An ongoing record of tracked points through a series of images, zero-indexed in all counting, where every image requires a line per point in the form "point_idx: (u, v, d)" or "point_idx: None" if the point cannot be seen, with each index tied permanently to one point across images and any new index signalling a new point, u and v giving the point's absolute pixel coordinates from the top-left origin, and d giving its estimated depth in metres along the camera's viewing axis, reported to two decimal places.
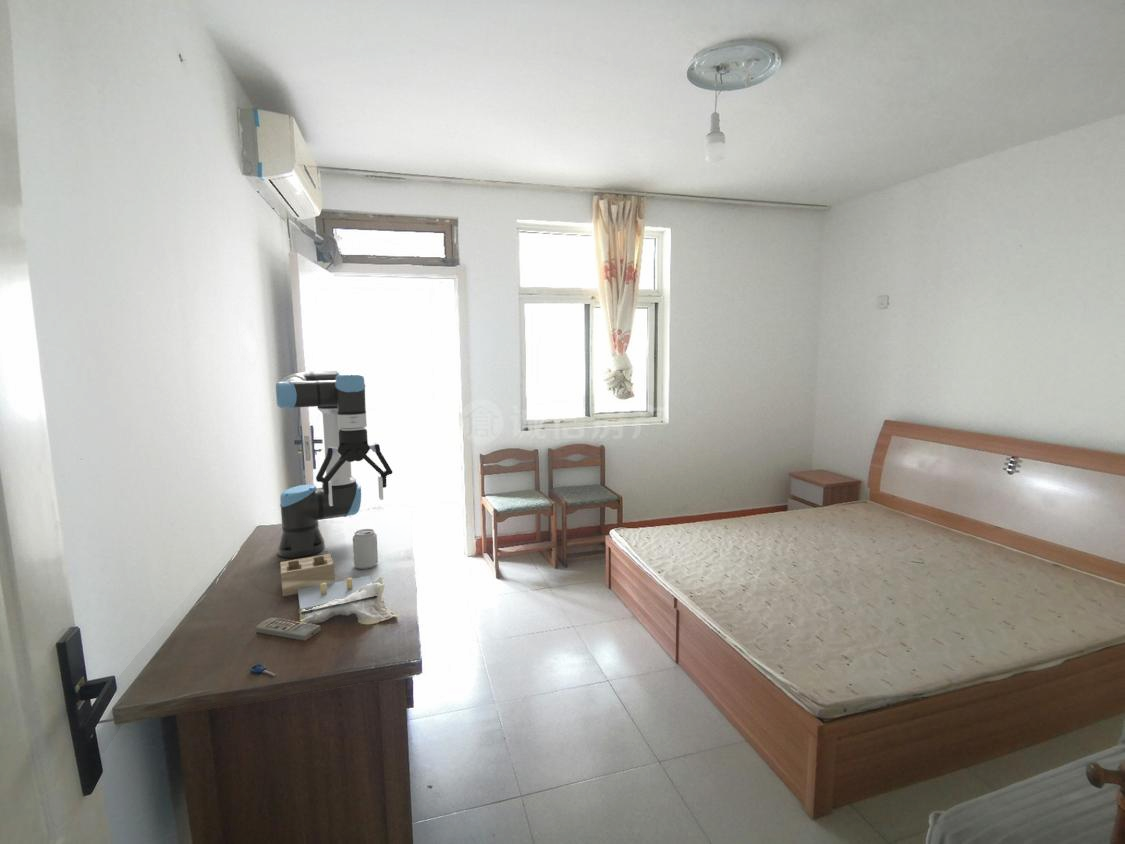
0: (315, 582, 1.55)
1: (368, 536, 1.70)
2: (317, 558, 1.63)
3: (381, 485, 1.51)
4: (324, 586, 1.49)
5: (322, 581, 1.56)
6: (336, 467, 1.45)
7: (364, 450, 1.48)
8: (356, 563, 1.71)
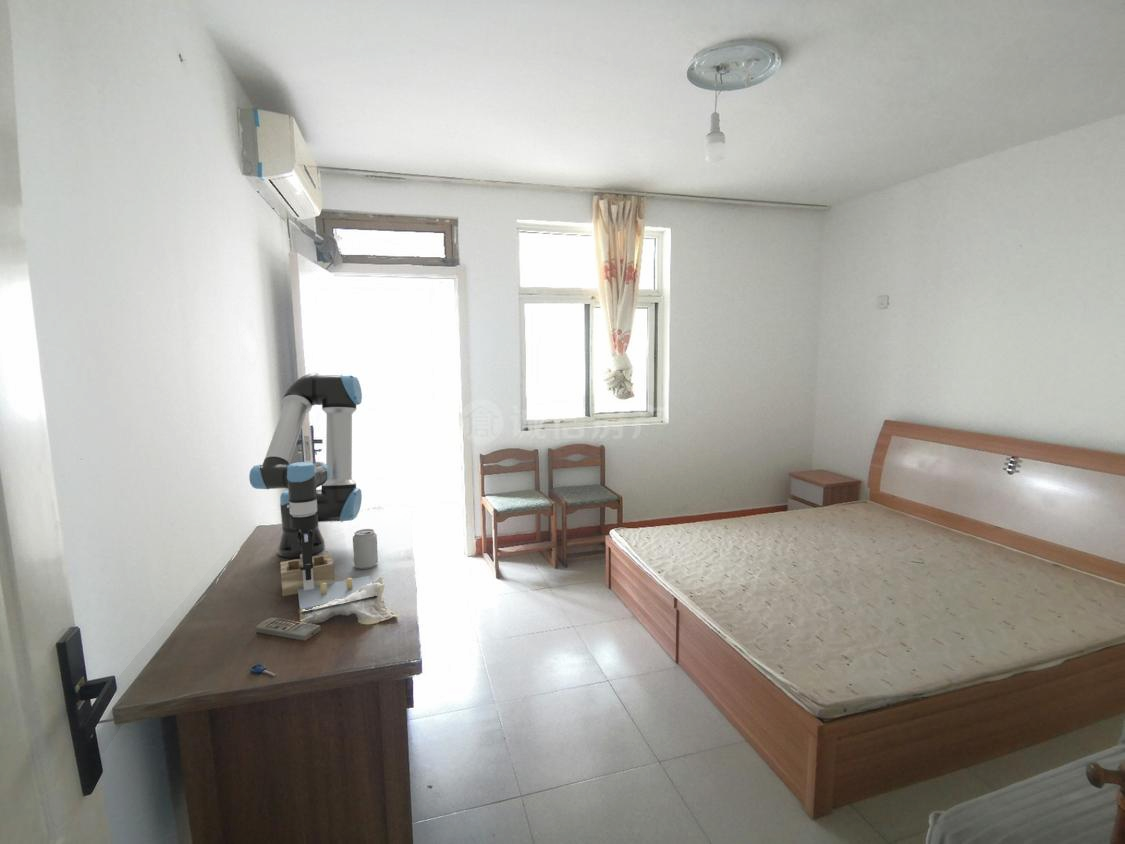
0: (315, 582, 1.55)
1: (368, 536, 1.70)
2: (317, 558, 1.63)
3: (303, 576, 1.52)
4: (324, 586, 1.49)
5: (322, 581, 1.56)
6: None
7: (301, 537, 1.54)
8: (356, 563, 1.71)
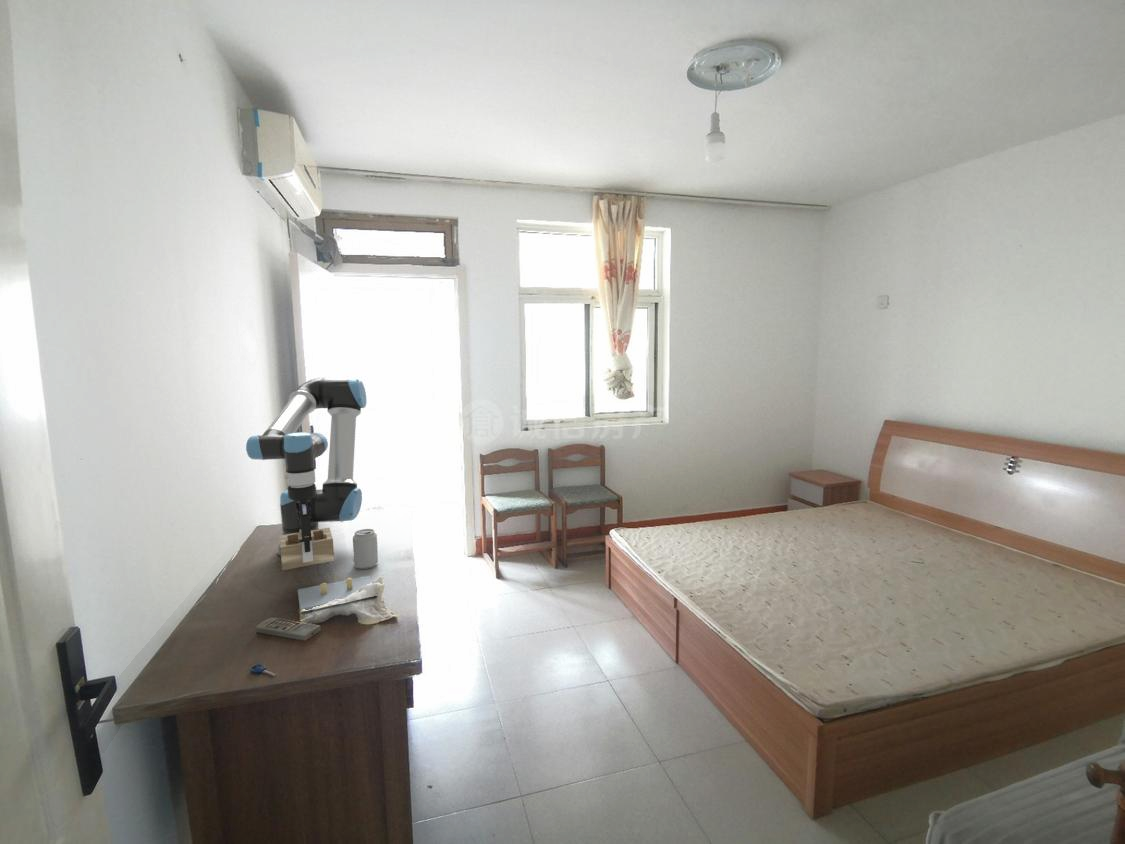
0: (315, 556, 1.55)
1: (368, 536, 1.70)
2: (316, 532, 1.63)
3: (302, 548, 1.53)
4: (324, 586, 1.49)
5: (322, 555, 1.56)
6: None
7: (299, 507, 1.54)
8: (356, 563, 1.71)
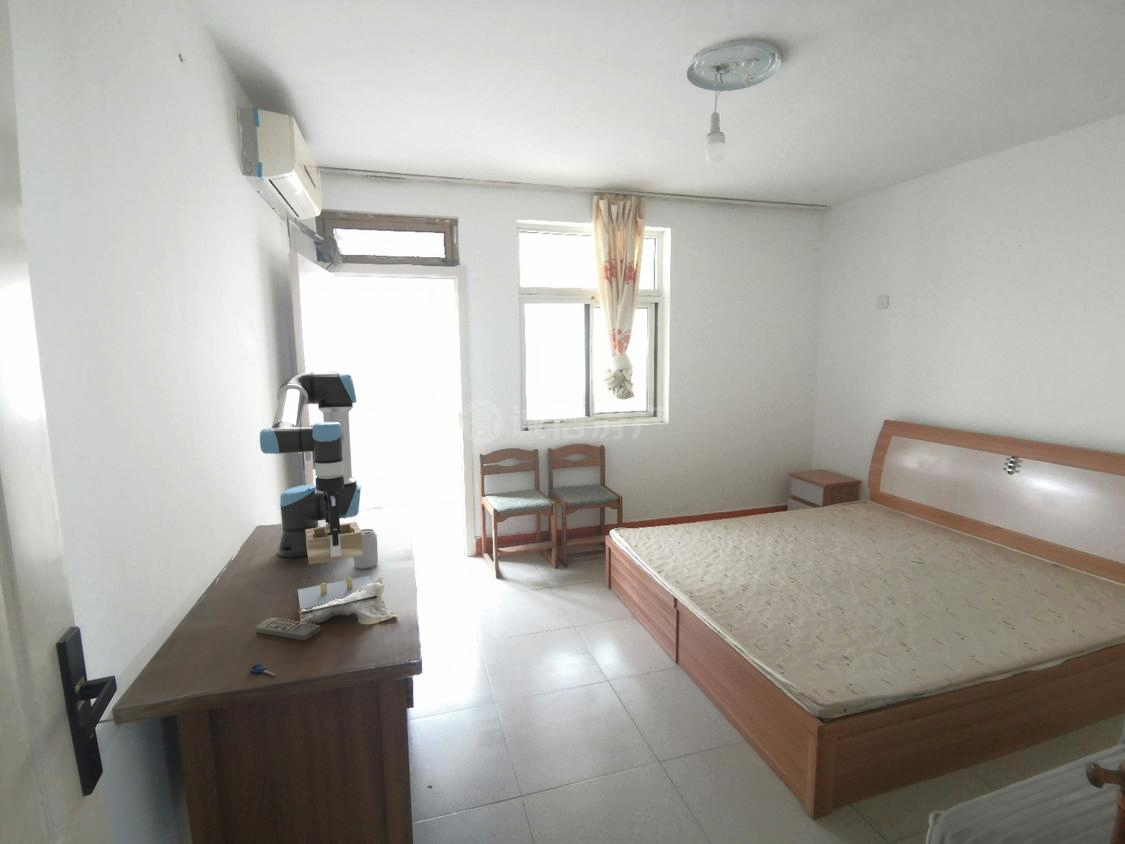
0: (342, 551, 1.49)
1: (368, 536, 1.70)
2: (343, 526, 1.56)
3: (330, 542, 1.46)
4: (324, 586, 1.49)
5: (350, 549, 1.50)
6: None
7: (327, 499, 1.48)
8: (356, 563, 1.71)
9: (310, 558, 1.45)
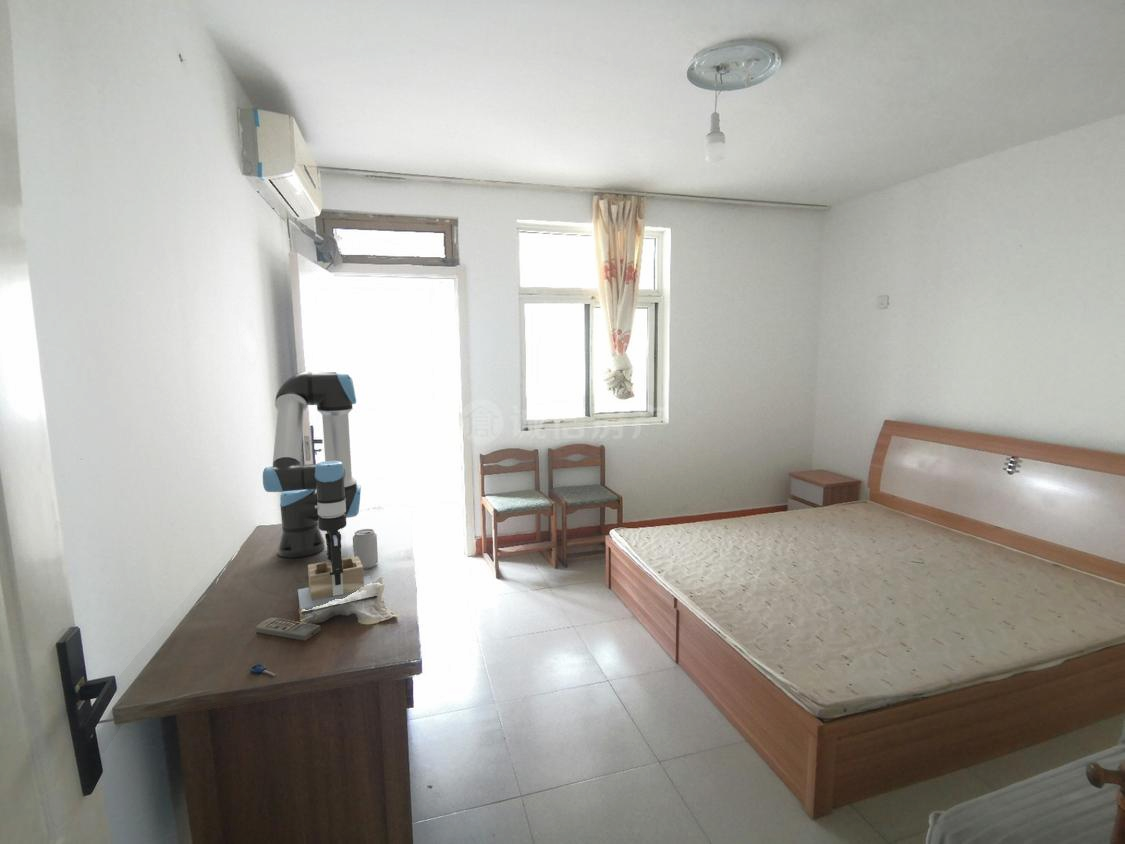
0: (344, 586, 1.50)
1: (368, 536, 1.70)
2: (345, 561, 1.58)
3: (332, 581, 1.48)
4: None
5: (352, 584, 1.51)
6: None
7: (329, 538, 1.49)
8: None
9: (312, 594, 1.46)
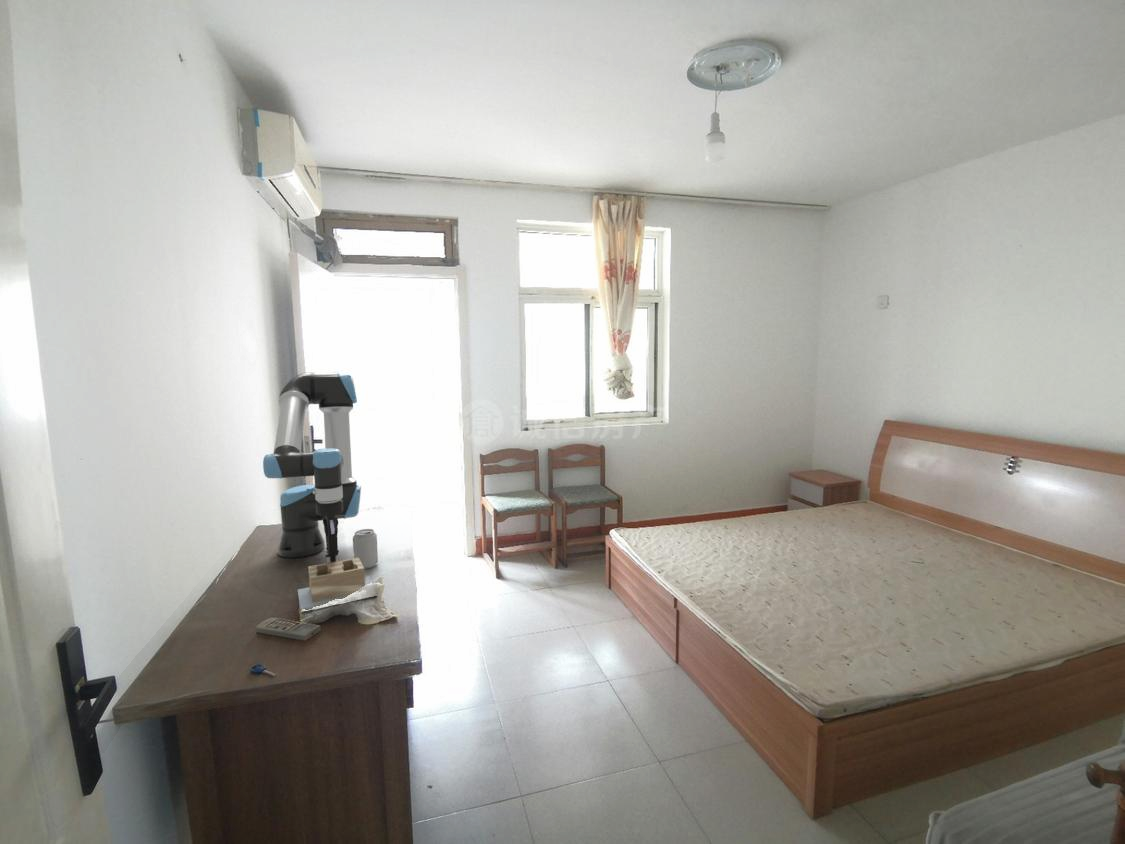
0: (346, 587, 1.49)
1: (368, 536, 1.70)
2: (346, 562, 1.57)
3: None
4: None
5: (353, 586, 1.50)
6: (326, 537, 1.58)
7: (327, 522, 1.54)
8: None
9: (313, 596, 1.45)
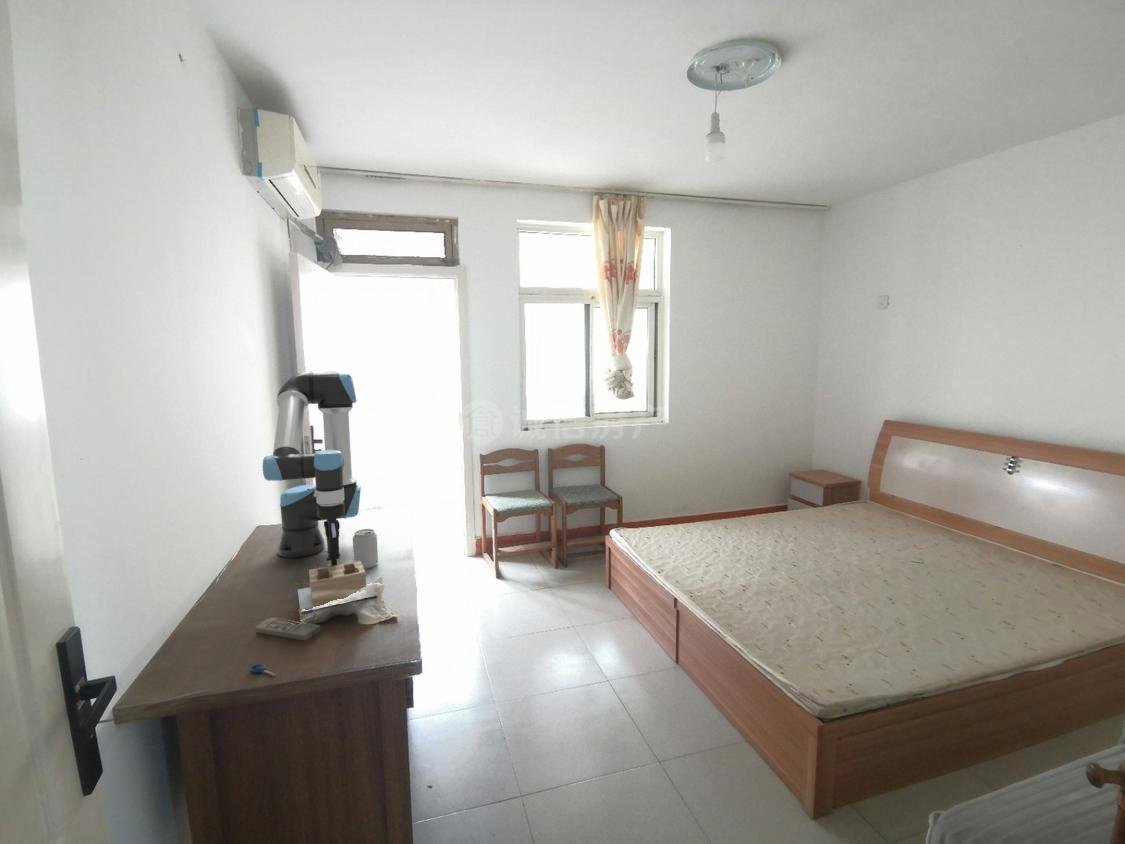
0: (346, 591, 1.46)
1: (368, 536, 1.70)
2: (347, 565, 1.54)
3: None
4: None
5: (354, 590, 1.47)
6: None
7: (328, 525, 1.51)
8: None
9: (313, 600, 1.42)
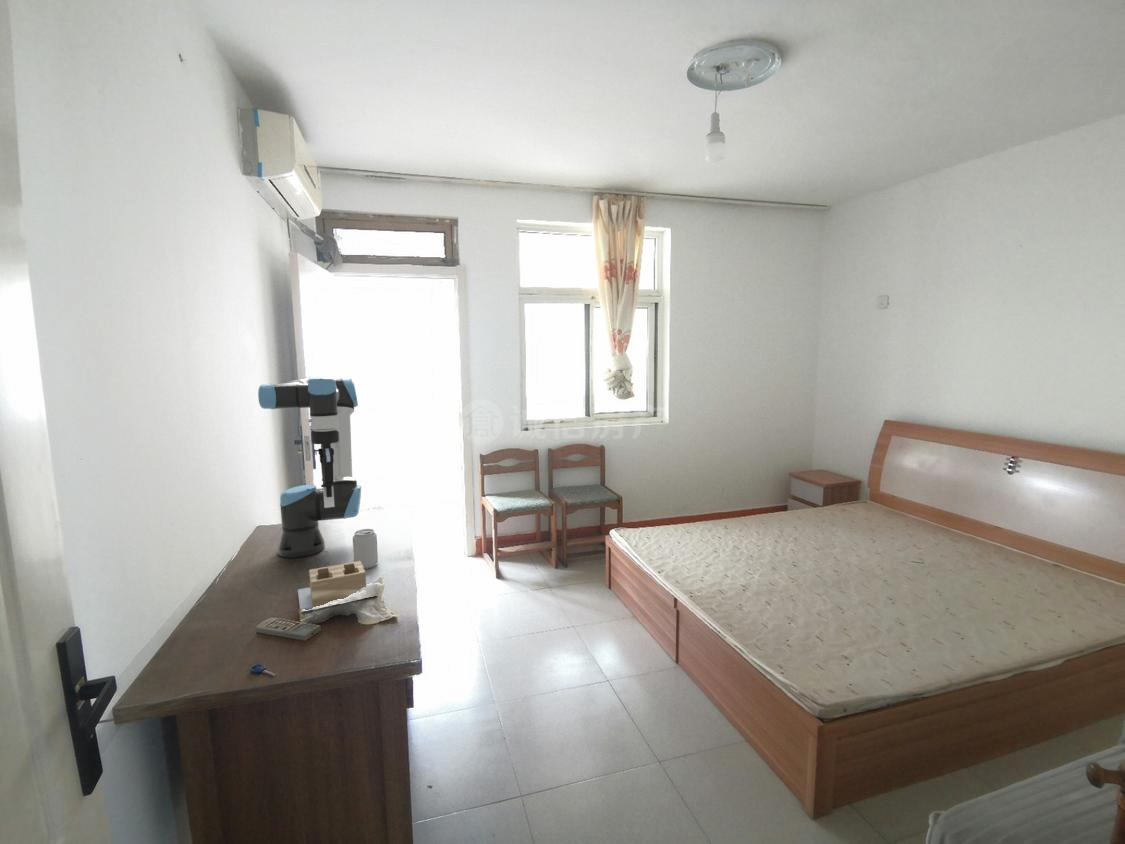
0: (346, 591, 1.46)
1: (368, 536, 1.70)
2: (347, 565, 1.54)
3: (323, 493, 1.56)
4: None
5: (354, 590, 1.47)
6: (322, 468, 1.56)
7: (322, 450, 1.52)
8: None
9: (313, 600, 1.42)
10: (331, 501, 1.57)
